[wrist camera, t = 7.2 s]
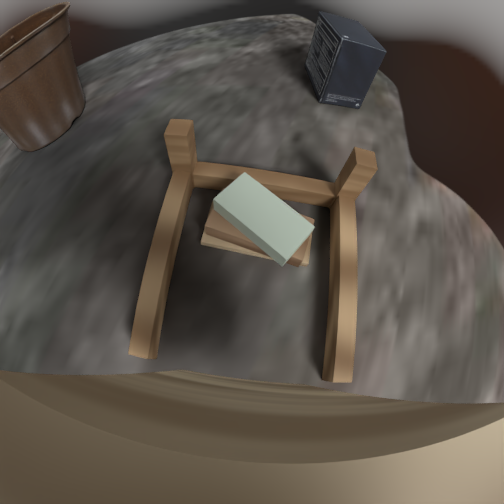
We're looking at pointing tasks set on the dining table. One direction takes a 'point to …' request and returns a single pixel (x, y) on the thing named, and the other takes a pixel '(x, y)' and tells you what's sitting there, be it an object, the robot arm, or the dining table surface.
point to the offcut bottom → (222, 244)
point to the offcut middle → (229, 233)
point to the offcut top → (263, 218)
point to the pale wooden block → (238, 443)
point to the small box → (342, 60)
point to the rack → (284, 187)
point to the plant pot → (39, 79)
